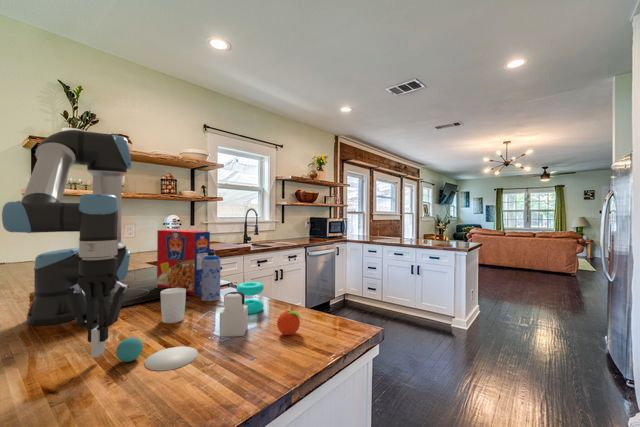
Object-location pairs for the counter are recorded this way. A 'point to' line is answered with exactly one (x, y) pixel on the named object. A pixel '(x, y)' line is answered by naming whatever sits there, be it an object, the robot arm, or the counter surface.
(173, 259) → the pasta box
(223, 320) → the medicine bottle
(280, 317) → the clementine
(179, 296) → the white cup
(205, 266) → the aerosol can
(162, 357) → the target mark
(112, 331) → the counter surface
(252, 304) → the donuts
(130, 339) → the ball
